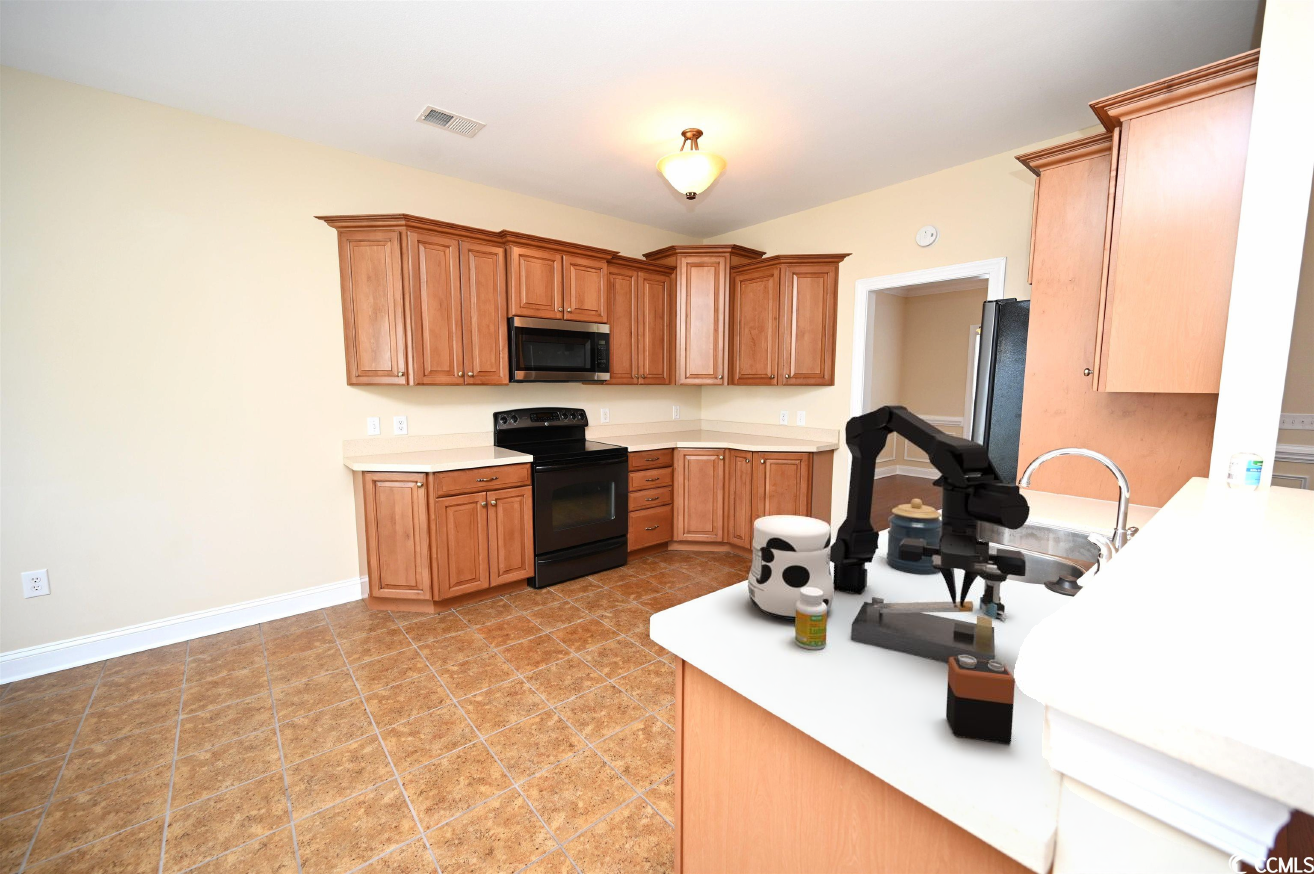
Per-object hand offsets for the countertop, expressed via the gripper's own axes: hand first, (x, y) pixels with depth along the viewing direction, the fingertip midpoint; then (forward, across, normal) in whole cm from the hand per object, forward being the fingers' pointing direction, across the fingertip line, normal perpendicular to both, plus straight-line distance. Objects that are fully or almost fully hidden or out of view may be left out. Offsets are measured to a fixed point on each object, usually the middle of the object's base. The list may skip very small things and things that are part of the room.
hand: (957, 603), depth 93 cm
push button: (+8, +6, +20) cm, 22 cm away
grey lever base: (+8, -6, 0) cm, 10 cm away
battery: (+9, +3, -24) cm, 26 cm away
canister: (+8, -11, +44) cm, 46 cm away
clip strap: (+2, -6, 0) cm, 6 cm away
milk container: (+8, -30, +2) cm, 32 cm away
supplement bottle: (+8, -23, -11) cm, 26 cm away
